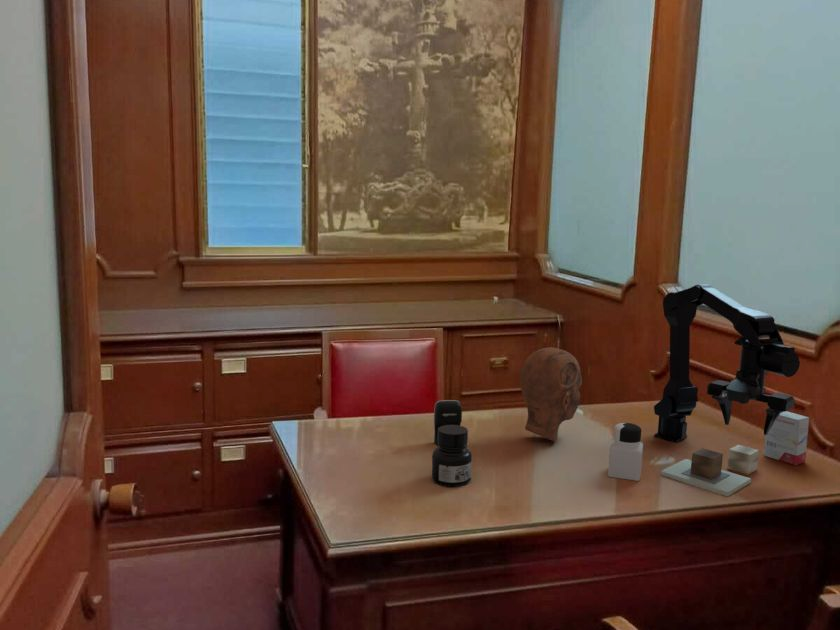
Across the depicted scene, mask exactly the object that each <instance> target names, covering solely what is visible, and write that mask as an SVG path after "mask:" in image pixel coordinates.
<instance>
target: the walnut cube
mask: <svg viewBox="0 0 840 630" xmlns="http://www.w3.org/2000/svg"><path fill="white" fill-rule="evenodd" d="M723 457H724V454H723V453H721V452H718V451H715V450H714V451H713V450H710V449H707V448H704V447H701V448H700V449H697V450H696V451H693V452H692V453H691V461H692V462H691V474H694V475H698V476H701V477H704V478H707V479H710V480H712V479H713V478H715V477H717V476H719V475H720V474H721V470H723V469H722V467H723Z"/></svg>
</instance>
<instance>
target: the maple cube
mask: <svg viewBox="0 0 840 630" xmlns="http://www.w3.org/2000/svg"><path fill="white" fill-rule="evenodd" d="M728 452H729V453H728V457H727V458H728V460H727V461H728V462H727V469H728V470H731V471H734V472H738V473H741V474H745V475H749V474H752V473H753V472H755V471H757V470H758V463H759V462H758V461H759V452H760V449H757V448H756V449H755V448H752V447H748V446H744V445H741V444H737V445H735V446H732V447H730V448H729V451H728Z"/></svg>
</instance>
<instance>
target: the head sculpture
mask: <svg viewBox="0 0 840 630" xmlns="http://www.w3.org/2000/svg"><path fill="white" fill-rule="evenodd" d="M519 375H520V376H519V385H520V386H519V387H520V390H521V393H522V396H523V400H524V402H525V404H526V409H527V419H526V423H525V426H524V429H525V431H527V432H530V433H532V434H534V435H538V436H540V437H541V438H545V439H547V440H549V441H552V442H557V441H558V435H559V428H560V425H561V424H562V423H563V422H565V421H569V420H572V419H573V418H574V416H575V413H576V412H577V410H578V407H579V404H580V400H581V393H580V388H581V387H582V384H583V378H582V373H581V367H580V363H579V362H578V359H576V357H575V356H574V355H573V354H572V353H570V352H568V351H567V350H564V349H561V348H557V347H551V346H550V347H543V348H540V349H539V350H535V351H534V352H532V353H531V354H530V355H528V356H527V358H526V359H525V361H524V363H523V364H522V367H521V370H520V374H519Z"/></svg>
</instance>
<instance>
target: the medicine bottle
mask: <svg viewBox="0 0 840 630" xmlns="http://www.w3.org/2000/svg"><path fill="white" fill-rule="evenodd" d="M613 430H614V432H613V434H614V435H613V439H612V440H611V445H610V447H609V455H608V459H609V460H608V469H607V477H609V478H615V479H621V480H622V479H623V480H629V481H635V482H639V481H640V479H641V473H642V461H643V453H644V452H643V451H644V443H643V442H641V438H642V428H641V427H640V425H637V424H635V423H631V422H621V423H617V424H615V426H614V429H613Z"/></svg>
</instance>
